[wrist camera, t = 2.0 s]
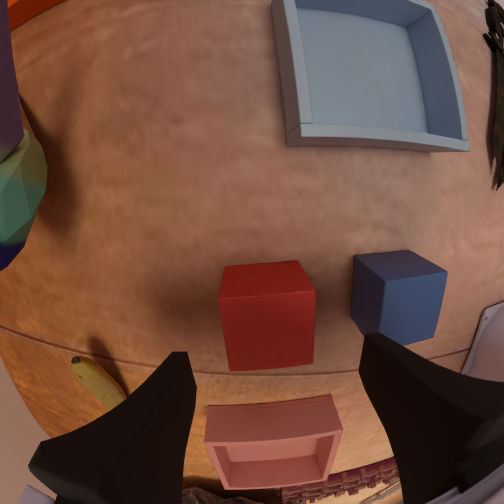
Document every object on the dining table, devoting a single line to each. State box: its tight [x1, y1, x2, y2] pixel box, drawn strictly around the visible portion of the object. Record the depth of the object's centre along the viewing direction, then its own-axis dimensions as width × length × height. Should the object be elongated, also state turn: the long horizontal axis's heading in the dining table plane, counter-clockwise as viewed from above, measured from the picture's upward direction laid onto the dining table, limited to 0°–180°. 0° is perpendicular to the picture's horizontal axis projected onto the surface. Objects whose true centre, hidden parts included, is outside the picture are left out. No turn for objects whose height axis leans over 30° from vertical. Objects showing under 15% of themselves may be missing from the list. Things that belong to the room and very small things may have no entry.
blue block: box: [350, 250, 448, 346], centre depth 15 cm, size 4×4×4 cm
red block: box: [219, 261, 315, 371], centre depth 15 cm, size 4×4×4 cm
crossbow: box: [360, 478, 401, 504], centre depth 28 cm, size 16×13×2 cm
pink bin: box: [204, 395, 343, 490], centre depth 19 cm, size 10×10×4 cm
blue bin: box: [271, 0, 470, 152], centre depth 11 cm, size 10×10×4 cm
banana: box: [71, 356, 127, 412], centre depth 17 cm, size 10×2×4 cm, turn 3°
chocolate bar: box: [277, 458, 400, 504], centre depth 24 cm, size 7×19×2 cm, turn 95°
